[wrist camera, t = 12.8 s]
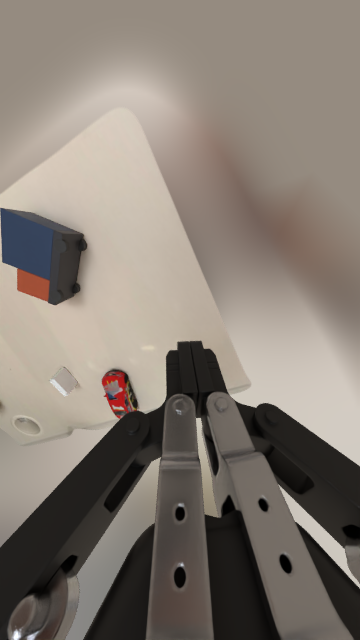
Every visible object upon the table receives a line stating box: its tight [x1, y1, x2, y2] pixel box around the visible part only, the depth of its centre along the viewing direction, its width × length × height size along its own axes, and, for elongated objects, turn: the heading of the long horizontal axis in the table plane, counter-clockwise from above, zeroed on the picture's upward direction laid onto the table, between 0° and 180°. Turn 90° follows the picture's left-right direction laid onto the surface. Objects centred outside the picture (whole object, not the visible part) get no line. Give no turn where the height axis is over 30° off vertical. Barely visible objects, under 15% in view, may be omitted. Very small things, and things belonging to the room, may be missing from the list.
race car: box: [102, 371, 137, 419], centre depth 41 cm, size 13×5×4 cm, turn 8°
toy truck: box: [0, 208, 87, 305], centre depth 28 cm, size 11×5×9 cm
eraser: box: [49, 367, 78, 396], centre depth 40 cm, size 1×5×4 cm, turn 25°
